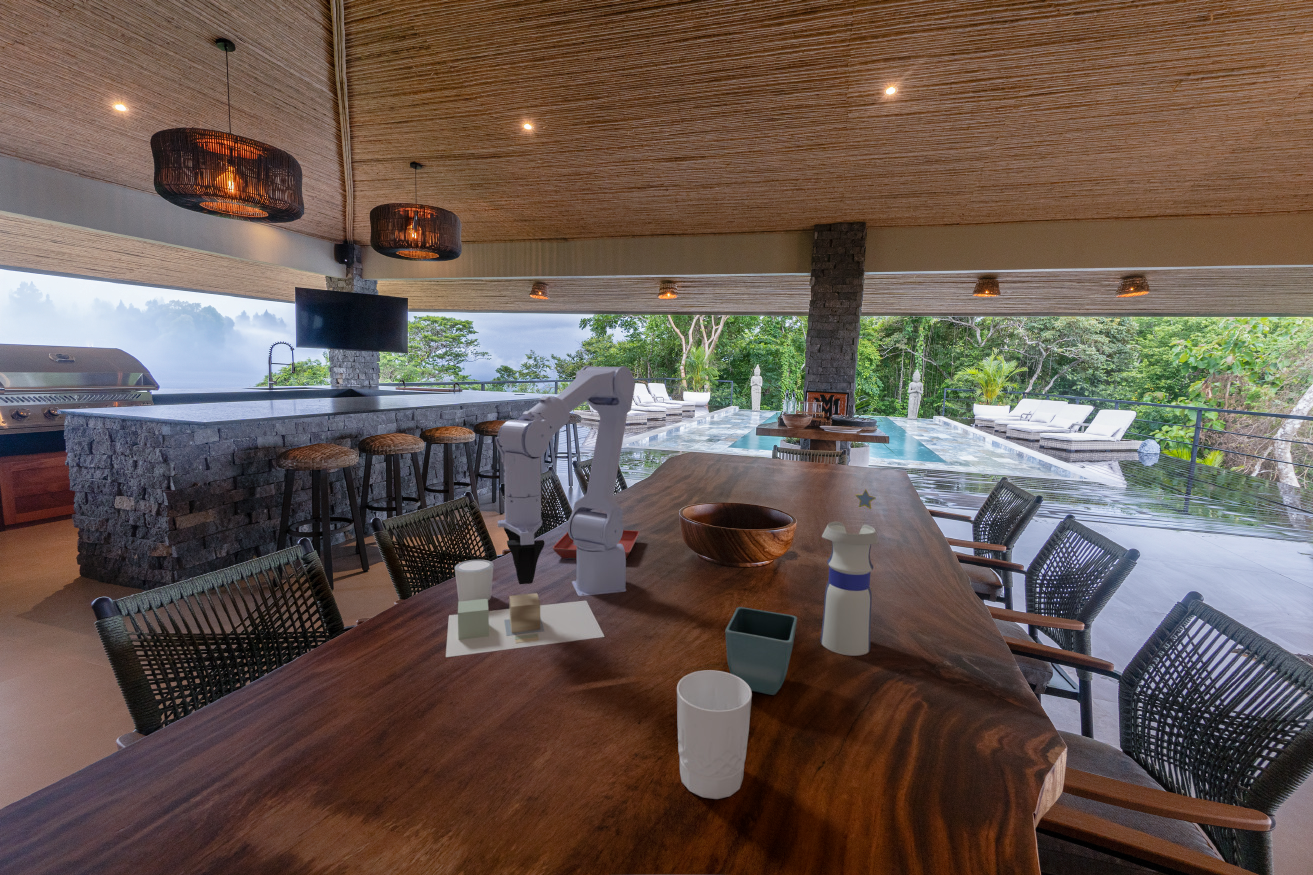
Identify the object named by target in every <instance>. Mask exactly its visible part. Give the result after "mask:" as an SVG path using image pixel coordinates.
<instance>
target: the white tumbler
mask: <svg viewBox="0 0 1313 875" xmlns="http://www.w3.org/2000/svg"><path fill="white" fill-rule="evenodd" d="M494 566H495V565H494V563H493V561H490V560H487V559H486V560H485V559H471V560H465V561H461V562H459V563H457V564H456V565H455V566H454V574H455V580H456V590H457V598H458V602H459V601H469V600H479V599H488V601H489V600H491V598H492V587H493V579H494V578H493V576H494Z"/></svg>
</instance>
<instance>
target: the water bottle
mask: <svg viewBox="0 0 1313 875" xmlns="http://www.w3.org/2000/svg"><path fill="white" fill-rule="evenodd" d="M854 495H855V497H856V498H857V499H858V501H859V503H858V504H859V505H858V508H862V507H866V508H867V509H869V510H872V505H871V502H872V501H874V500H875V499H876V496H873V495H870V494H869V493H868V490H867V489H864V491H863V493H861V494H854ZM845 526H846V525H845V524H844V523H843V522H841V521H832V522H829V523H828V524H826V527H825V529H824V531H823V533H822V534H821V538H823V539H826V540H829V541H830V542H831V553H830V556H829V558H828V559H827V561H826V563H827V565H828V566H829V568H828V581H827V583H826V586H825V589H824V590H825V591H824V601H823V611H822V612H823V613H822V614H823V615H822V624H821V625H822V626H821V632H820V644H821V645H822V646H823V647H824V648H825V649H827V650H829V651H831V652H833V653H836V654H838V655H839V654H840V655H844V656H851V657H852V656H854V657H855V656H856V657H857V656H858V657H859V656H863V655H866V654H868V653H869V652H870V651H871V627H872V626H871V624H872V622H871V621H872V620H871V619H872V602H873V601H872V600H873V597H872V590H871V587H870V584H871V571H873V570H874V565H873V563H872V561H871V548H872V545H879V544H880V543H879V540H878V536H877V531H876V529H875V528H874V527H873V526H871V525H868V524H863V525H862V526H861V528H860V530H859V533H849V532H847V531H846V530H847V529H846V527H845Z"/></svg>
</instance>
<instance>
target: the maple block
mask: <svg viewBox="0 0 1313 875" xmlns="http://www.w3.org/2000/svg"><path fill="white" fill-rule="evenodd" d="M540 605H541V601H540V598H539V594H538V593H537V592H535V593H527V594H524V593H523V594H517V595H515V594H514V595H509V609H510V626H511V632H512V633H515V632H523V631H531V630H540Z"/></svg>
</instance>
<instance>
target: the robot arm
mask: <svg viewBox="0 0 1313 875" xmlns="http://www.w3.org/2000/svg"><path fill="white" fill-rule="evenodd" d="M635 388H636V382H635V379H634V376H633V373H632V371H631V370H630V368H629V367H628V366H625V365H624V366H592V365H585V366H583V367H582V368H581V369H579V370H577V371H576V374H575V379H573V381H571V382H570V383H569V385H568V386H566V387H565V388H564V389H563V391H562V390H561V392H560V393H559V394H558V395H557V396H552V395H551V396H550V395H549V396H546V395H545V396H544V395H543V396H541V397H540V398H539V399H538V401H539V402H537V404H535V405H534V406H533V407H531V408H529V410H524V412H522V414H521V416H520V417H519V418H518V419H509V420H507V421H505V422H504V423H503V424H502V425H501V426H500V428H499V430H498V432H497V437H495V444H496V448H497V450H498V451H499V453H500V456H501V463H502V464H503V466H504V468H503V470H504V519H500V520H497V527H498V528H503V530H504V532H505V534H506V535H507V538H508V540H506V544H507V547H508V549H509V551H510V553H511V555H512V561H513V564H514V568H515V571H516V572H515V573H516V578H517V581H518V584H519V585H528V584H533V583H534V578H535V574H536V569H537V566H538V565H537V563H538V560H539V558H540V554H542V550H543V549H544V547H545V542H546V541H544V539H539V540H537V539H536V540H535V535H536V533H537V531H539V529H540V527H541V526H542V525H543V519H542V500H541V499H542V488H541V486H542V484H541V483H542V481H541V480H542V475H541V474H542V473H541V472H542V469H541V468H542V466H541V465H542V464H541V463H542V458H541V457H542V455H544V454H546V452H547V450H548V446H549V443H550V441H551V440H552V439H553V438H552V437H553V436H554V435H555V434H556V433H558V432H559V431H561V429H562V428H563V427H564V426H565V425H567V424H568V422H569V421H570V418H571V415H570V414H571V412H572V411H574V410H575V409H576V408H578V407H579V406H580V405H583V404H584V403H585V402H586V403H587V404H588V405H589V406H590V407H591V409H592V410H594V411H596V412H597V413H598V416H599V423H598V429H597V432H596V433H597V434H596V438H595V443H594V444H595V446H594V450H593V456H592V460H591V468H590V473H589V479H588V483H587V488H586V489H587V490H586V494H585V495H583V496H582V497H580V498H579V499H578V500H576V501H575V502H574V505H573V510H572V512H571V514H570V517H569V518H568V521H567V532H568V534H569V537H570V538H571V539H572V540H574V545H576V546H577V559H576V580H573V581H571V584H572V586H573V588H574V590H575V592H576V593H577V596H578V597H585V596H594V595H603V594H613V593H614V594H615V593H622V592H623V593H624V592H626V591H627V589H626V586H627V585H626V577H627V576H626V573H627V572H626V568H627V567H626V566H627V560H626V559H627V557H626V556H625V550H624V547H623V545H622V544H618V542H619V541H620V539H621V537H622V534H623V530H624V523H623V520H624V518H623V515H624V509H623V508H622V507H621V505H619V503H618V502H616V500H615V499H614V493H615V487H616V481H617V477H618V471H619V464H620V458H621V453H622V449H623V448H622V446H623V443H624V442H623V441H624V436H625V429H626V423H627V418H628V413H629V412H631V410H632V404H633V400H634V393H635ZM594 510H597V511H596V512H595V511H594ZM598 511H602V512H598Z"/></svg>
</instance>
